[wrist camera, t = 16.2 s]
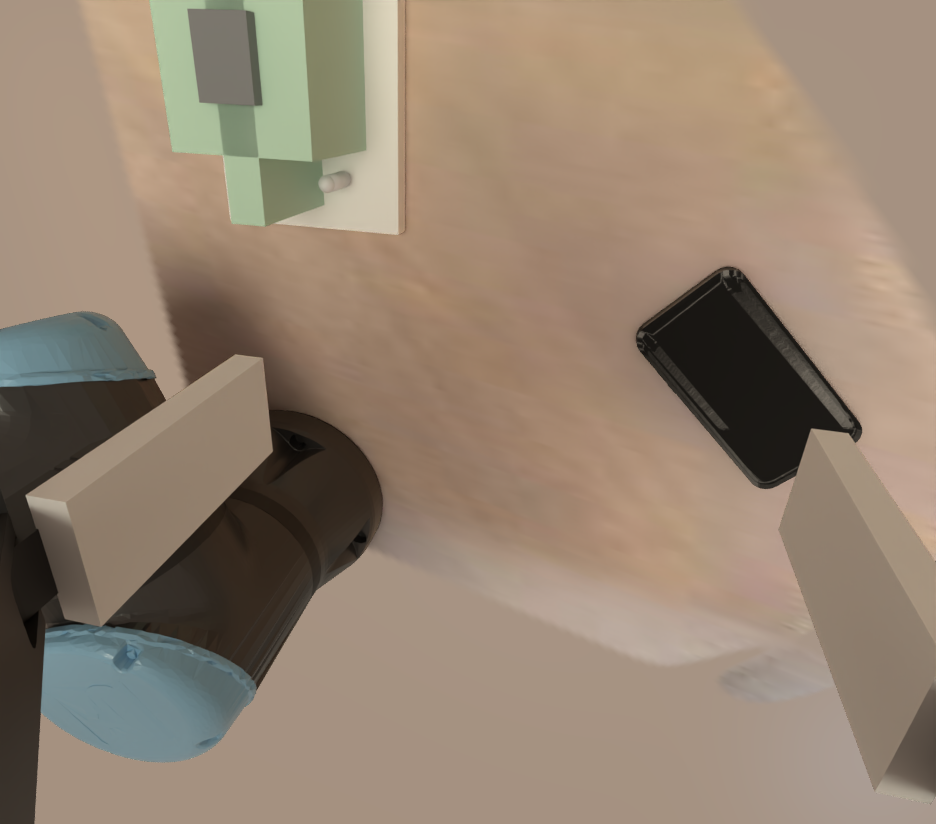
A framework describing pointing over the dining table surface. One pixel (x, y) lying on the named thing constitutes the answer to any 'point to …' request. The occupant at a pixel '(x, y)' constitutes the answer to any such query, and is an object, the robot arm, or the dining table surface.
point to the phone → (743, 376)
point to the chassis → (370, 138)
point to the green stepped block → (264, 94)
